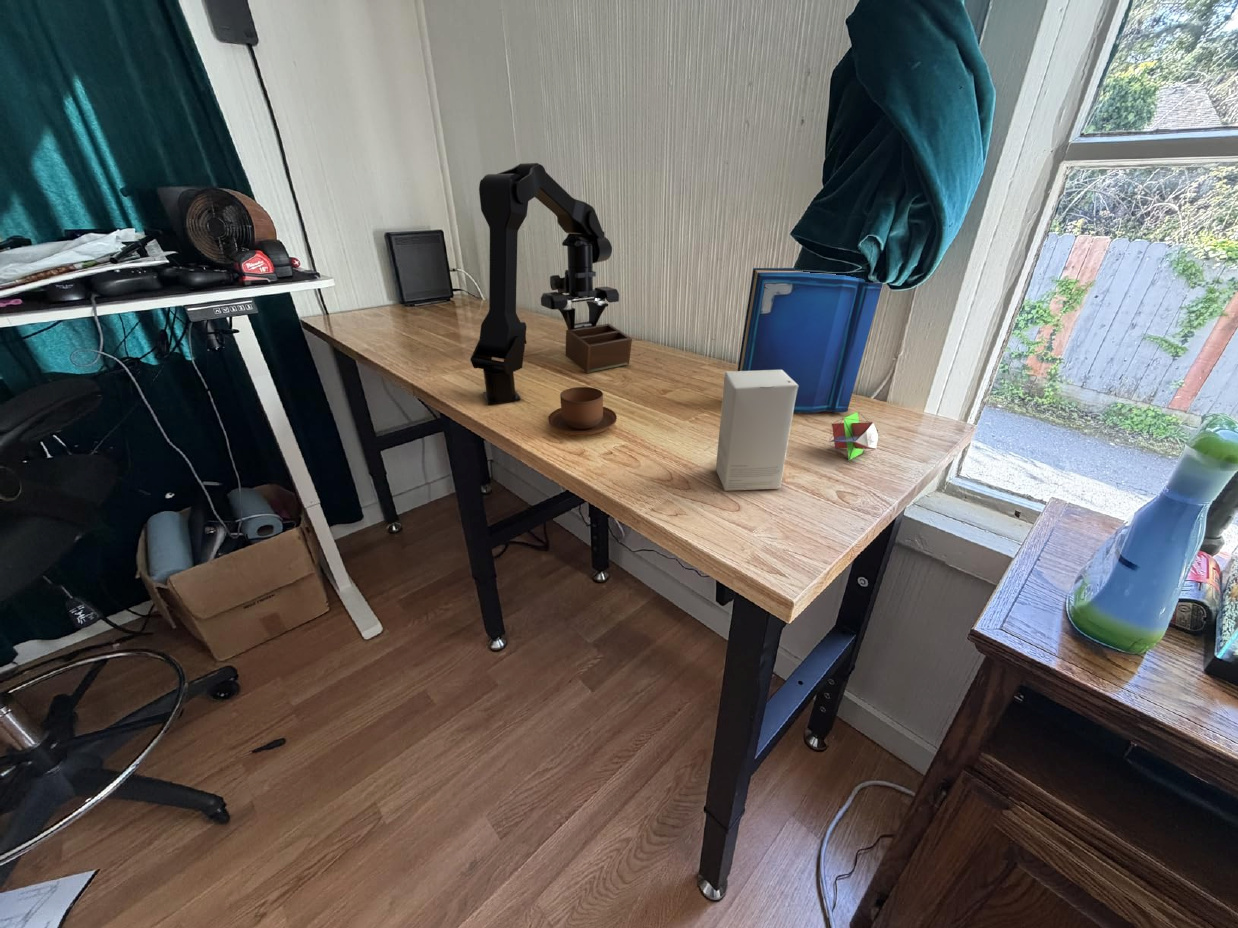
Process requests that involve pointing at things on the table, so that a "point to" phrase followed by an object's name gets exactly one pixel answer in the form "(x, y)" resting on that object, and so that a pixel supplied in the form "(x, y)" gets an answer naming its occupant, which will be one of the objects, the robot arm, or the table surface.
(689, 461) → the table surface
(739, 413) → the cosmetic box
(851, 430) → the geometric puzzle
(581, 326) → the shelf
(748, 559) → the table surface
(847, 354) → the book
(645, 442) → the table surface
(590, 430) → the cup and saucer
